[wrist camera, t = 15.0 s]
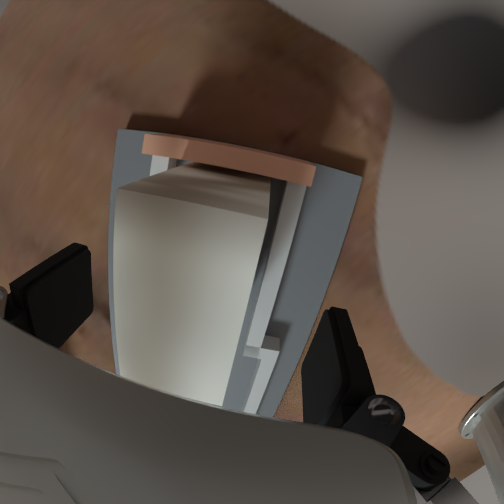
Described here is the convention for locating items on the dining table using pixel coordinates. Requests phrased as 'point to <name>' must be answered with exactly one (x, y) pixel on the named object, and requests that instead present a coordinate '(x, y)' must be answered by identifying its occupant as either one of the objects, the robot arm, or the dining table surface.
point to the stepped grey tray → (271, 255)
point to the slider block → (186, 275)
